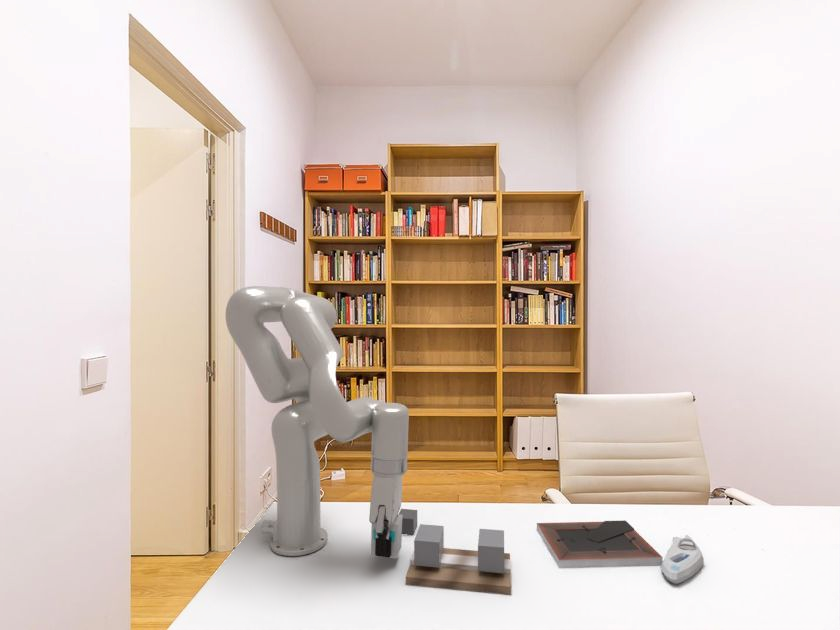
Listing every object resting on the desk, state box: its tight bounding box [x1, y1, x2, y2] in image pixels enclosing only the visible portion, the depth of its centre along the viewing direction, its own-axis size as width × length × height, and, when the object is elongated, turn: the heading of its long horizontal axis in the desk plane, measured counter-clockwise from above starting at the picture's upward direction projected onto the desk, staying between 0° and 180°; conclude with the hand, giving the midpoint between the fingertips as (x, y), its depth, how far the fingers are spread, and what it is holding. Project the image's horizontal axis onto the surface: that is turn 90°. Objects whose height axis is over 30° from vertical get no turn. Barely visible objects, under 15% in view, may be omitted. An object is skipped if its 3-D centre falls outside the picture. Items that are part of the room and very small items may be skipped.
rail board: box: [405, 547, 512, 596], centre depth 97 cm, size 20×12×2 cm, turn 80°
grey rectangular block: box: [398, 508, 418, 536], centre depth 115 cm, size 4×5×4 cm
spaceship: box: [659, 534, 704, 584], centre depth 101 cm, size 23×7×4 cm, turn 144°
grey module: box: [370, 513, 403, 559], centre depth 101 cm, size 6×5×7 cm
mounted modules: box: [413, 523, 505, 573], centre depth 97 cm, size 18×7×5 cm, turn 80°
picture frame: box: [536, 520, 664, 569], centre depth 107 cm, size 16×2×22 cm
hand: (386, 548), depth 101 cm, fingers closed on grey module, 4 cm apart
